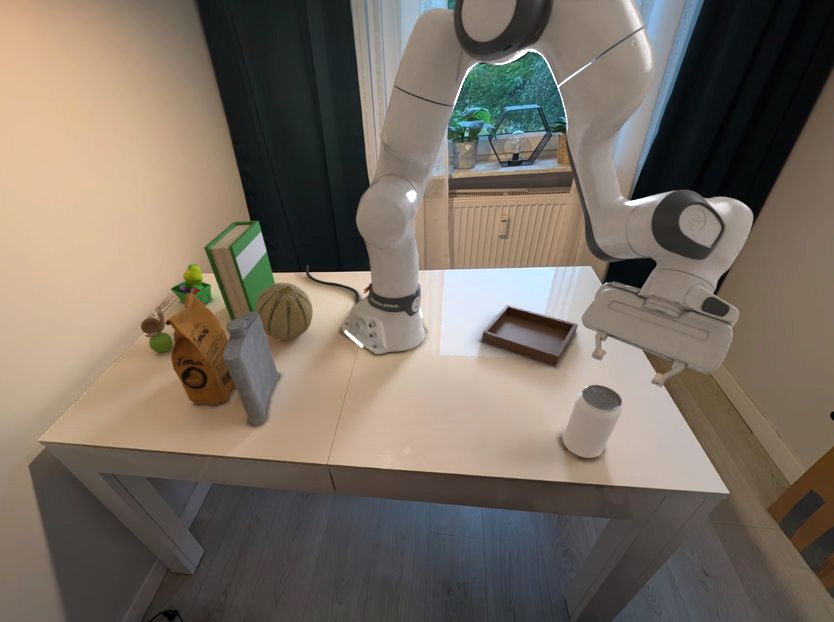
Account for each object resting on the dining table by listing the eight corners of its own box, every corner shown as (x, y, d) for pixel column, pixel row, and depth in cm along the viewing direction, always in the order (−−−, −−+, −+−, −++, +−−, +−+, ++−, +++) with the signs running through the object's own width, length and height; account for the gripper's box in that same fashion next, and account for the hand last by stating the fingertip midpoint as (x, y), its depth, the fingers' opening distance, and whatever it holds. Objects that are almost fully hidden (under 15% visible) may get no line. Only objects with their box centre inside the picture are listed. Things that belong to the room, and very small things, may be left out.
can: (594, 430, 70) (615, 383, 62) (608, 460, 65) (632, 412, 57) (557, 429, 70) (573, 382, 63) (568, 458, 65) (587, 411, 58)
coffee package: (184, 407, 83) (139, 325, 70) (208, 369, 93) (171, 291, 80) (227, 407, 82) (189, 324, 69) (246, 369, 92) (216, 290, 78)
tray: (481, 341, 93) (482, 332, 91) (505, 313, 102) (506, 304, 100) (555, 366, 84) (558, 356, 82) (575, 333, 92) (578, 324, 91)
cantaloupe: (267, 322, 108) (252, 274, 99) (317, 316, 108) (308, 268, 99) (259, 354, 96) (241, 303, 87) (316, 347, 97) (305, 297, 87)
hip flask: (263, 424, 77) (233, 348, 65) (244, 425, 78) (210, 349, 65) (279, 373, 90) (257, 300, 78) (263, 373, 90) (238, 302, 78)
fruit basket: (175, 302, 122) (160, 270, 115) (197, 290, 128) (185, 259, 121) (198, 310, 117) (184, 277, 110) (220, 297, 122) (208, 265, 115)
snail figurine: (182, 347, 102) (164, 309, 94) (159, 359, 98) (138, 321, 91) (174, 340, 105) (155, 303, 97) (151, 351, 101) (130, 314, 94)
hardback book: (258, 327, 106) (232, 246, 91) (233, 327, 107) (204, 247, 93) (278, 295, 120) (258, 220, 105) (256, 295, 121) (233, 221, 106)
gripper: (603, 271, 66) (560, 340, 67) (753, 315, 53) (697, 399, 54) (607, 284, 71) (567, 349, 72) (746, 327, 58) (694, 404, 59)
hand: (624, 371), depth 63 cm, fingers open, 8 cm apart
